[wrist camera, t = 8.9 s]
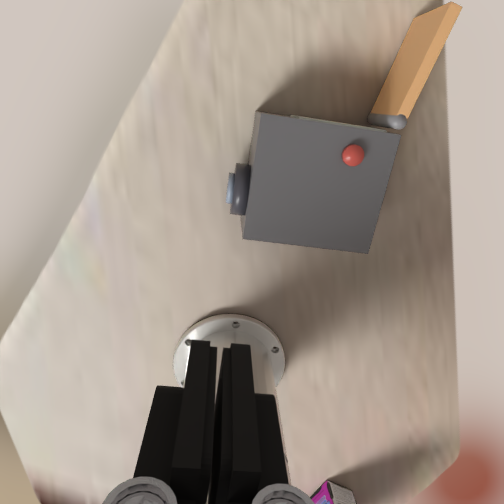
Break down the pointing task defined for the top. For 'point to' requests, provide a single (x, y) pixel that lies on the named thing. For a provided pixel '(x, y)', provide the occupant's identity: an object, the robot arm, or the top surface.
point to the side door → (413, 66)
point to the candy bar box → (333, 494)
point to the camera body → (312, 182)
